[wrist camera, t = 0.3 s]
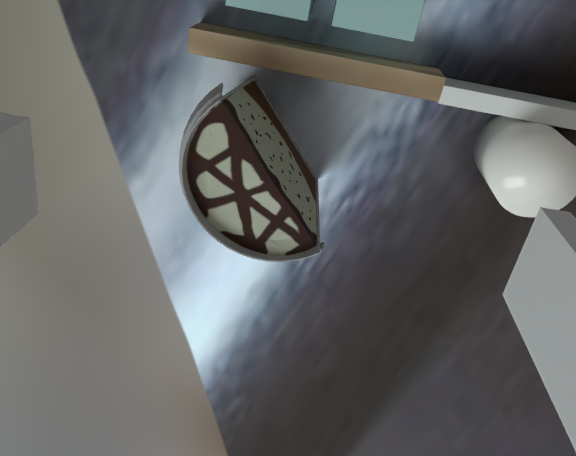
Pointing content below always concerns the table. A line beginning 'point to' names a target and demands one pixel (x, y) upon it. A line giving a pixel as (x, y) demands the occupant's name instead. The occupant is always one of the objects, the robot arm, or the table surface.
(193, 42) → the guide channel
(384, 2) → the pale teal cube
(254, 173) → the food container
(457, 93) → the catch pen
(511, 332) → the table surface
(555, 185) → the white rounded capsule
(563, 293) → the robot arm
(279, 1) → the pale teal block
